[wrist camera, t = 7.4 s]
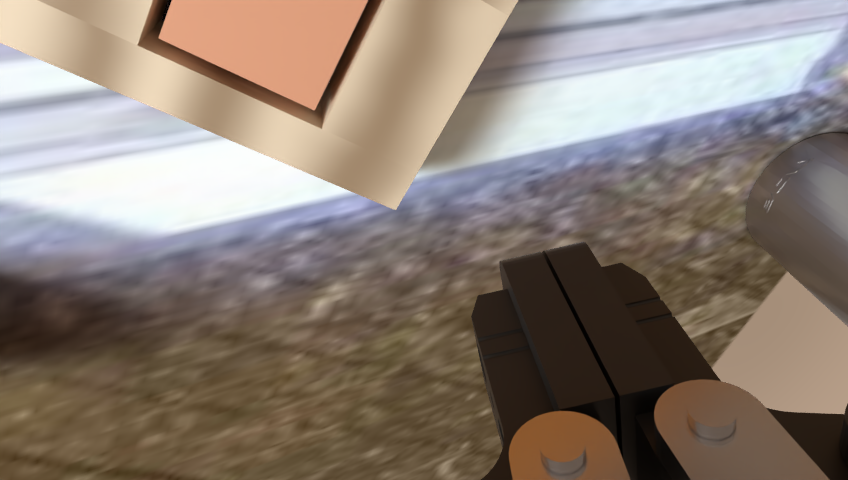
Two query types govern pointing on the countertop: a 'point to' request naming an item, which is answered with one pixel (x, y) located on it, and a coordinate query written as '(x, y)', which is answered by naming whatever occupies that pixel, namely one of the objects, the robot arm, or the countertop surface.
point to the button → (267, 39)
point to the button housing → (271, 112)
